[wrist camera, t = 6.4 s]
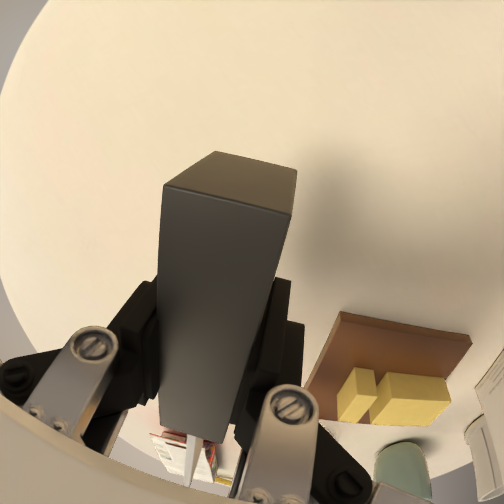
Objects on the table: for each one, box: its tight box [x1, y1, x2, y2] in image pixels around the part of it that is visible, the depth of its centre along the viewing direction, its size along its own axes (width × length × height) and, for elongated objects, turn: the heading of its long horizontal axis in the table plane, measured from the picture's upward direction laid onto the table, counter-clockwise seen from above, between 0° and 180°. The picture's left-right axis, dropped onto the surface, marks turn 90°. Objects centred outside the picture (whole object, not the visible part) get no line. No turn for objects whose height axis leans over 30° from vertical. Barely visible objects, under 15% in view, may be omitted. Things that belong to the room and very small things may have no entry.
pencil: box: [215, 477, 232, 486], centre depth 43 cm, size 1×14×1 cm
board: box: [304, 312, 473, 426], centre depth 27 cm, size 14×14×1 cm
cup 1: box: [374, 442, 432, 502], centre depth 30 cm, size 8×8×10 cm
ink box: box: [149, 432, 218, 483], centre depth 38 cm, size 4×8×15 cm
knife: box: [157, 151, 297, 488], centre depth 11 cm, size 18×2×4 cm, turn 168°
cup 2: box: [464, 415, 504, 502], centre depth 25 cm, size 10×9×12 cm
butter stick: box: [369, 372, 451, 426], centre depth 25 cm, size 4×7×3 cm, turn 80°
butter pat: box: [337, 367, 378, 423], centre depth 25 cm, size 4×2×3 cm, turn 170°
